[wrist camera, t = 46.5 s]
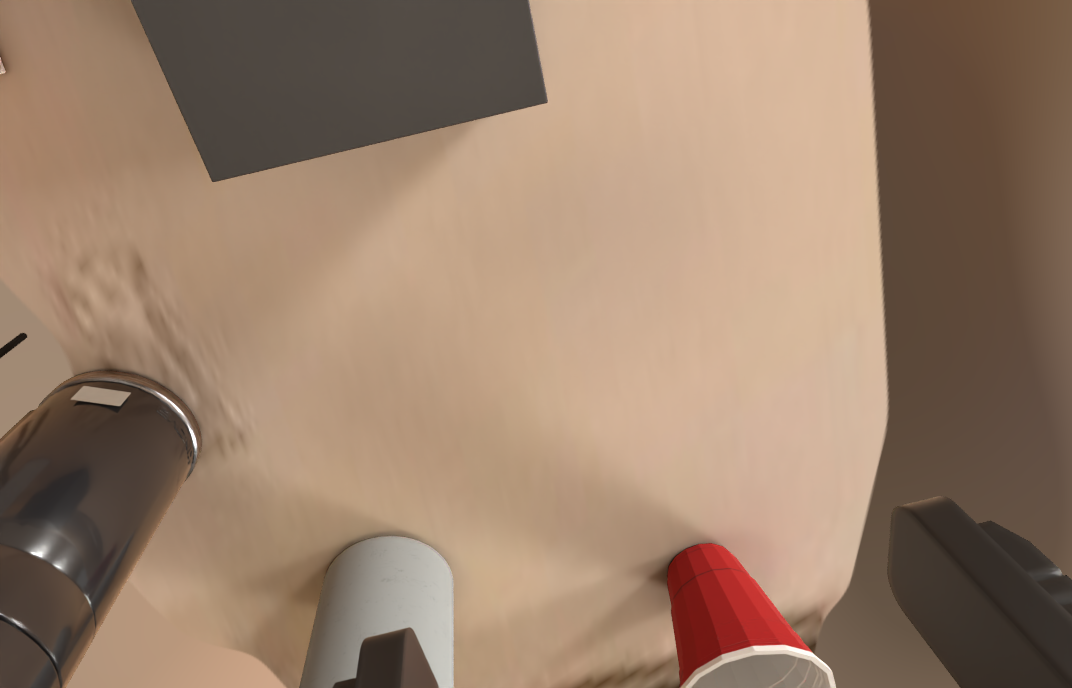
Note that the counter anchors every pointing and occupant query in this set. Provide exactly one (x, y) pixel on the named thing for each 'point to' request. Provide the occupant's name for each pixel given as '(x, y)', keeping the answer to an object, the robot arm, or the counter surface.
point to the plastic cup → (733, 628)
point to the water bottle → (381, 608)
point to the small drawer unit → (336, 72)
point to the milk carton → (1, 67)
